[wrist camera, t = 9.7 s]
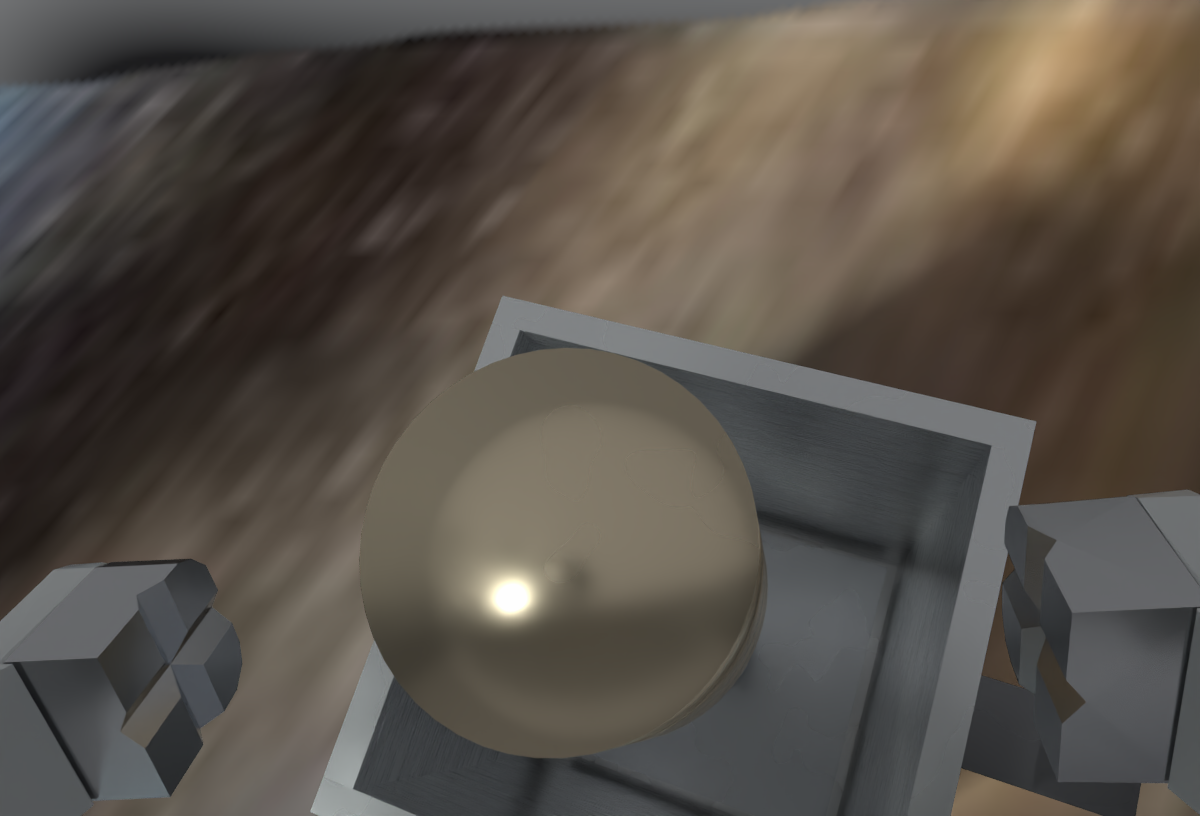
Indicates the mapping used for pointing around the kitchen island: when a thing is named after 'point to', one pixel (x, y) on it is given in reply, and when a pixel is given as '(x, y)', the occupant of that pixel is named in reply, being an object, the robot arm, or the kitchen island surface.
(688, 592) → the plunger
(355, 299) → the kitchen island surface
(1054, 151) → the kitchen island surface
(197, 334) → the kitchen island surface
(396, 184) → the kitchen island surface
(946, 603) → the press
